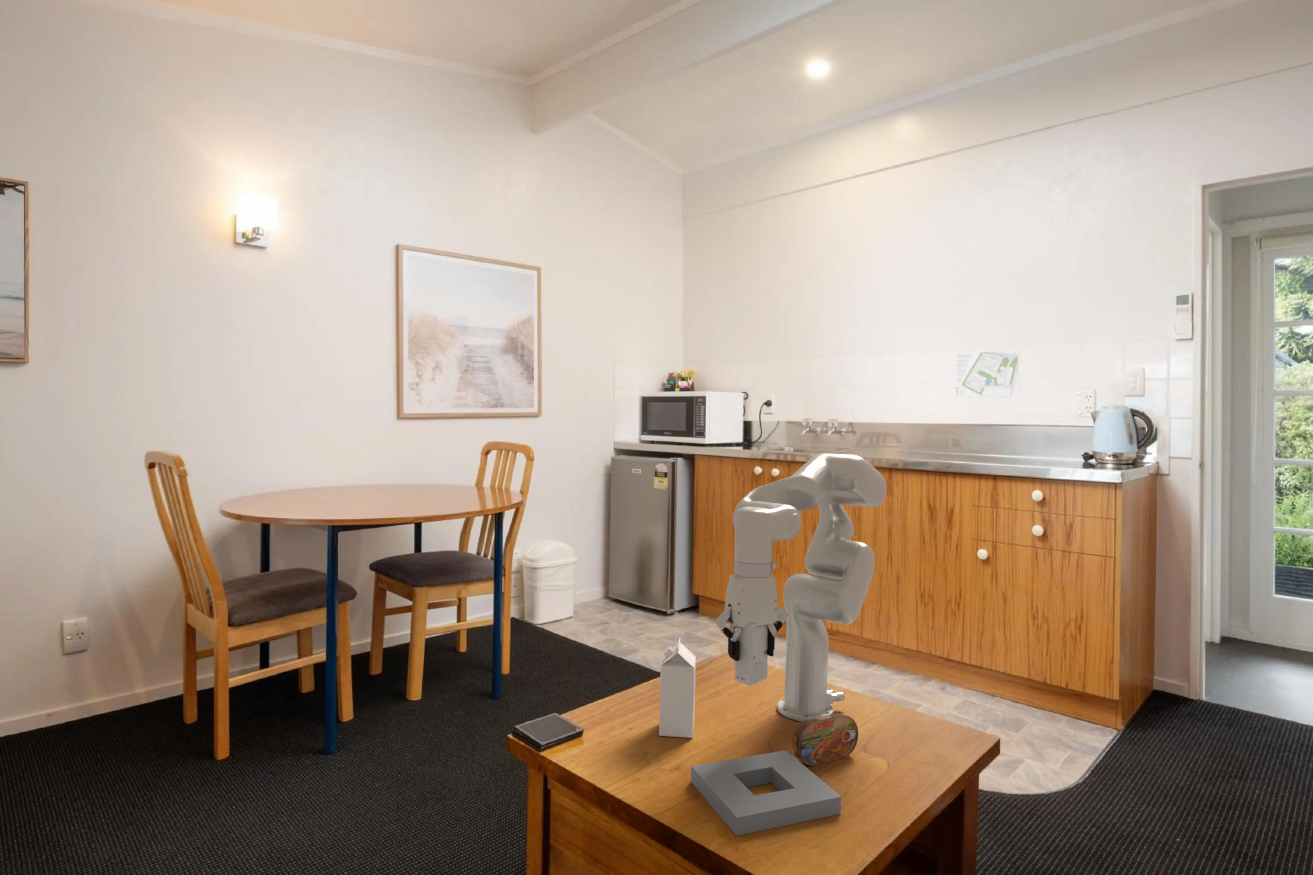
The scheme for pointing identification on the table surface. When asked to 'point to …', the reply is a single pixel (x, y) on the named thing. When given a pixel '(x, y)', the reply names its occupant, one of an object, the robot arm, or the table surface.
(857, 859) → the table surface
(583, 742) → the table surface
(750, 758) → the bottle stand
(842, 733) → the tin
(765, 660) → the skincare box
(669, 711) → the milk carton
